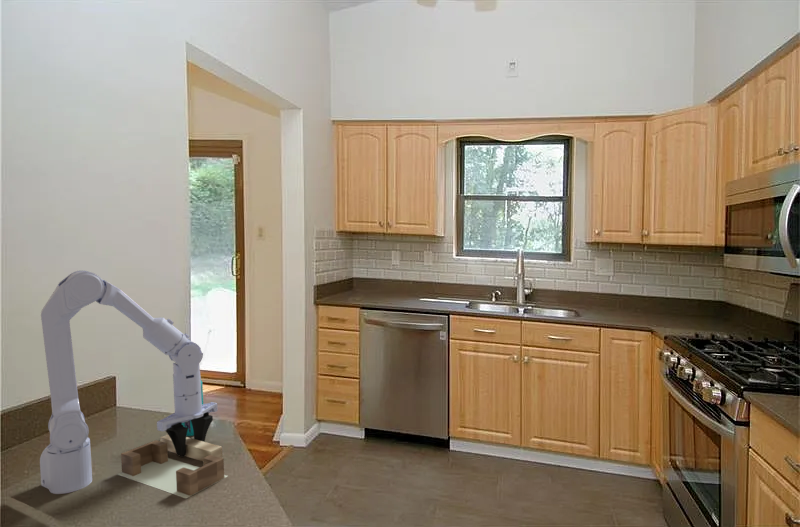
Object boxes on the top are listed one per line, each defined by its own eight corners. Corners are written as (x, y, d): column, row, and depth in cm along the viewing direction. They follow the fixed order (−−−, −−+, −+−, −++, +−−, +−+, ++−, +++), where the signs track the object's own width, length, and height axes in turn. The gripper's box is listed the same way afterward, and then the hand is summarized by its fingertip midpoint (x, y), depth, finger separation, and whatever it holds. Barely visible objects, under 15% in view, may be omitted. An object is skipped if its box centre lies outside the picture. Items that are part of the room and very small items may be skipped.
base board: (117, 478, 104) (117, 474, 104) (161, 460, 113) (160, 455, 113) (186, 503, 93) (185, 498, 93) (228, 480, 102) (228, 475, 102)
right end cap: (176, 491, 96) (175, 470, 96) (211, 474, 103) (210, 455, 103) (190, 495, 94) (189, 475, 94) (224, 478, 101) (223, 458, 101)
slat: (160, 453, 117) (159, 437, 117) (172, 449, 120) (171, 432, 120) (211, 469, 108) (210, 451, 108) (222, 464, 111) (222, 446, 111)
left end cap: (121, 472, 105) (120, 453, 105) (156, 457, 112) (155, 440, 112) (133, 476, 103) (132, 457, 103) (168, 460, 110) (167, 443, 110)
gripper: (170, 404, 105) (173, 467, 106) (225, 386, 118) (227, 442, 118) (149, 400, 109) (152, 461, 109) (205, 383, 121) (207, 437, 122)
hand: (190, 451), depth 114 cm, fingers open, 4 cm apart
